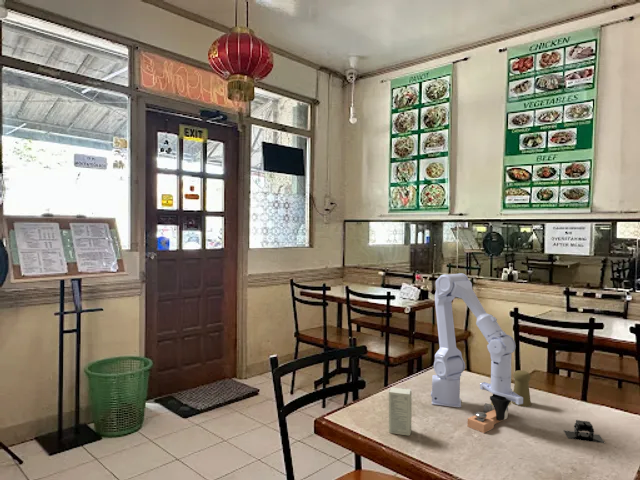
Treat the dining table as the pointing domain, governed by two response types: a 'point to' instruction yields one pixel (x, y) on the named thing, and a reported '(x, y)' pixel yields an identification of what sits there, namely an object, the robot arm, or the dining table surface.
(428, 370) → the dining table surface
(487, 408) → the stand
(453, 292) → the robot arm
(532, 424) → the dining table surface
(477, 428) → the link
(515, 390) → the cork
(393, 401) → the skincare box
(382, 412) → the dining table surface
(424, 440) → the dining table surface
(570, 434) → the black piece
